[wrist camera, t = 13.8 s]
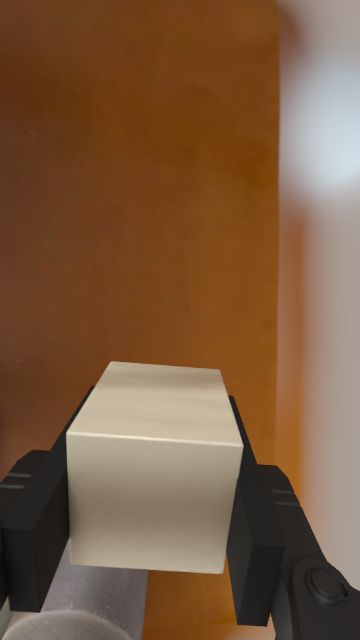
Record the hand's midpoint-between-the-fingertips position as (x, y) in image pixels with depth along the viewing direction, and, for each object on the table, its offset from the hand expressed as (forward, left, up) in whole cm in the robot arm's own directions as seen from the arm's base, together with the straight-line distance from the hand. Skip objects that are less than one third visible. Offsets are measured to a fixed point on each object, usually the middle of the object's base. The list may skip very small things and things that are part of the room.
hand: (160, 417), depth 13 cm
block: (0, 0, 0) cm, 0 cm away
